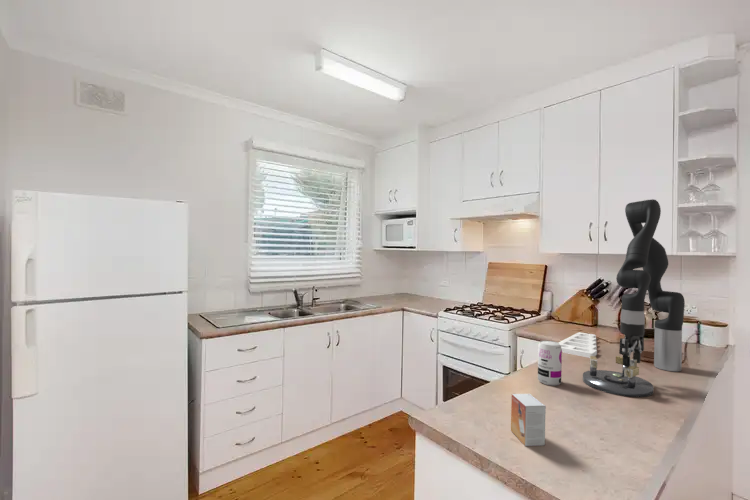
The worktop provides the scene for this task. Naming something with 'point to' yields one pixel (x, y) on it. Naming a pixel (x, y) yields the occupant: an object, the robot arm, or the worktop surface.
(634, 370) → the knob
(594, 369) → the knob
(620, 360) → the knob near
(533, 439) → the small box
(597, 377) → the base
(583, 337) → the holder
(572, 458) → the worktop surface
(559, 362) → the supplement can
